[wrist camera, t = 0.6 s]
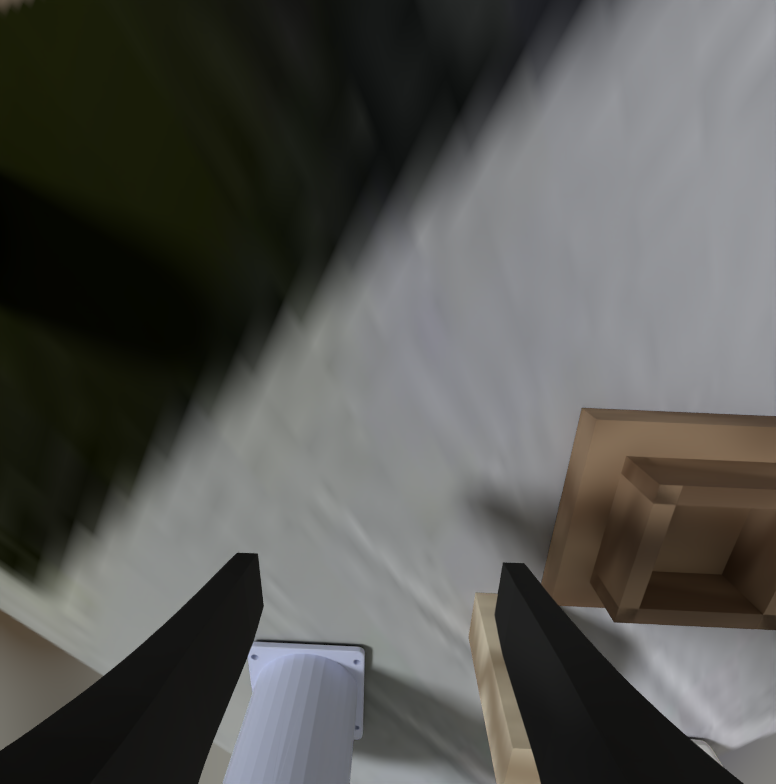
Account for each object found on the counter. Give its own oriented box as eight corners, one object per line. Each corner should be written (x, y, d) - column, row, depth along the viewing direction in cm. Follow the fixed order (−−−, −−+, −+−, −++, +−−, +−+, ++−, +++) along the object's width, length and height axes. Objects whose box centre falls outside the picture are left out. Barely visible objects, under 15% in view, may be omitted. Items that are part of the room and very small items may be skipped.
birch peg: (527, 640, 25) (584, 804, 17) (468, 637, 25) (500, 800, 17) (538, 595, 24) (604, 752, 16) (475, 592, 24) (512, 748, 16)
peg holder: (732, 593, 23) (798, 658, 19) (541, 584, 23) (569, 646, 19) (813, 418, 19) (916, 456, 15) (581, 408, 19) (627, 443, 15)
